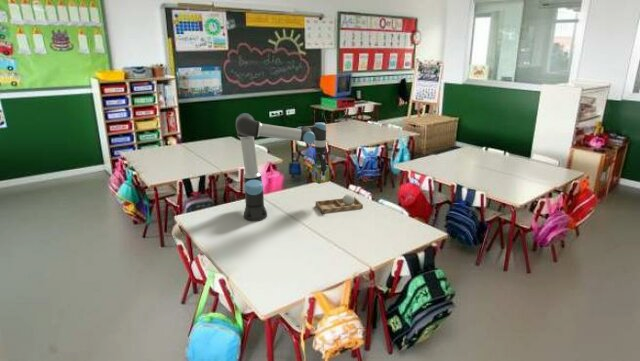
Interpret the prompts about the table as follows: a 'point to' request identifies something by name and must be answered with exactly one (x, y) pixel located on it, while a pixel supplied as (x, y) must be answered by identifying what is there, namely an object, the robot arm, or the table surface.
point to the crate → (336, 205)
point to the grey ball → (348, 199)
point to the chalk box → (319, 173)
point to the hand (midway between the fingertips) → (320, 177)
